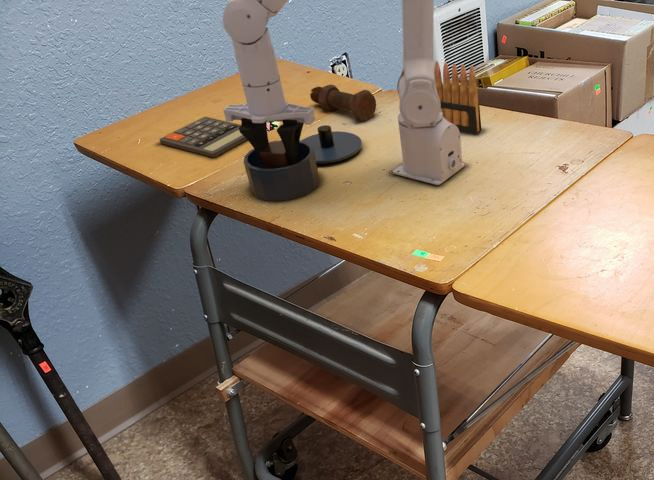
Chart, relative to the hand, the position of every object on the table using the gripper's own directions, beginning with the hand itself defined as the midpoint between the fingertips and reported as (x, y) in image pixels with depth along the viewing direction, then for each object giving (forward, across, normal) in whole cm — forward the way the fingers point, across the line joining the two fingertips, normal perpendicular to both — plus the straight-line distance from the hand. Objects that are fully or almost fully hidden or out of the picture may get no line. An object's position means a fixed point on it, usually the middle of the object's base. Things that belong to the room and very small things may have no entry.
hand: (280, 163), depth 116 cm
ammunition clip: (+4, +23, +25) cm, 34 cm away
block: (+1, 0, 0) cm, 1 cm away
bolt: (+4, -2, +31) cm, 31 cm away
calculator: (+4, -23, +16) cm, 28 cm away
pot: (+4, 0, 0) cm, 4 cm away
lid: (+3, +2, +13) cm, 14 cm away
